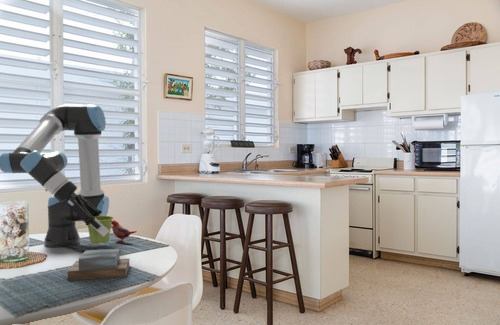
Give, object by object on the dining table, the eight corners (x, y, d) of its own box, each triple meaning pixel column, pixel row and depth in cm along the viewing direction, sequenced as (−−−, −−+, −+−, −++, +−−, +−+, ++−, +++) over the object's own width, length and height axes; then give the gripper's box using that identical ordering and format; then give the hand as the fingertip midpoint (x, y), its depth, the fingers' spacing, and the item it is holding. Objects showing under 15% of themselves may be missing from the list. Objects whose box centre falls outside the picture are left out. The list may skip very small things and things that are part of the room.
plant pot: (104, 245, 141) (104, 220, 140) (80, 244, 142) (79, 219, 142) (118, 239, 150) (118, 216, 150) (94, 238, 152) (94, 215, 151)
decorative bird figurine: (113, 239, 200) (112, 219, 199) (139, 244, 191) (139, 222, 190) (108, 240, 197) (108, 220, 197) (134, 245, 188) (134, 223, 188)
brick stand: (76, 268, 151) (76, 250, 151) (129, 266, 155) (129, 248, 155) (67, 280, 139) (67, 259, 138) (125, 276, 142) (125, 257, 142)
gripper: (61, 192, 153) (105, 232, 157) (43, 199, 132) (95, 245, 135) (76, 177, 154) (120, 218, 158) (60, 182, 133) (112, 229, 136)
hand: (108, 231), depth 147 cm, fingers closed on plant pot, 9 cm apart
